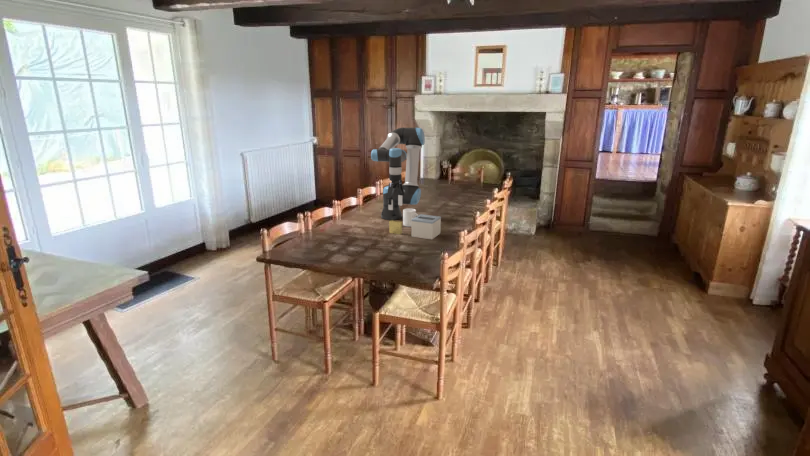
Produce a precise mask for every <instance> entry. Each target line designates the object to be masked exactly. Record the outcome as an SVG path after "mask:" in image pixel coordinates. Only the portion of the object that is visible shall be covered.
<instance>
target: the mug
mask: <svg viewBox="0 0 810 456" xmlns="http://www.w3.org/2000/svg"><path fill="white" fill-rule="evenodd" d="M418 215H419V214H418V213H417V209H415V208H404V209H402V226H403V227H406V228H407V227H408V228H411V227H412V219H413V218H415V217H417V216H418Z"/></svg>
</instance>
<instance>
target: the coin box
mask: <svg viewBox="0 0 810 456" xmlns="http://www.w3.org/2000/svg"><path fill="white" fill-rule="evenodd" d="M441 220H442V216H437V215H429V214H421V213H420V214H418V216H416V217H415V218H413V219H412V227H410V228H411V237H413V238H420V239H427V240H434V239H435V238H436V237H437V236H438V235H439V236H440V234H441V231H442V230H441V226H442V221H441Z"/></svg>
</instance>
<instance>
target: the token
mask: <svg viewBox="0 0 810 456" xmlns="http://www.w3.org/2000/svg"><path fill="white" fill-rule="evenodd" d="M388 227H389V229H388V231H389V234H395V235H402V234H403V220H388Z"/></svg>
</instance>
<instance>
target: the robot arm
mask: <svg viewBox="0 0 810 456" xmlns="http://www.w3.org/2000/svg"><path fill="white" fill-rule="evenodd" d="M425 138H426V137H425V131H424V129H423V128H422V127H398V128H395V129H393V130H392V131H390V132H389V133H388V134H387V136H386V139H385V140H384V142H383V143H382V144H381V145H380V146H379V147H378V149H377V148H376V149H375V148H374V149H372V150H371V153H370V159H371V161H373V162H384V163H385V162H386V163H388V162H389V164H388V165H389V171H388V172H389V177H388V179H389V181H391V182H389V183H388V185H386V186H384V187H383V189H382V205H383V207H382V211H381V213H380V217H381V219H382V220H388V221H390V220H395V221H397V220H400V219H403V212H402V210H401V208H400V207H401V206H403V205H409V206H410V205H412V206H413V205H415V206H416V205H418V203H420V199H421V196H422V189H421V188H420V185H418V184H419V183H418V177H419V176H418V174H419V172H418V171H419V161H420V160H419V159H420V150H421V149H422V148H423V145H425V142H426V141H425V140H426V139H425ZM398 145H405V148H406V151H405V150H404V149H402V148H399V147H396V146H398ZM405 160H406V162H405V163H406V165H405V174H404V175H405V176H404V177H405V178H404V183H403V180H402V171H403V169H402V167H403V166H402V163H403V162H404V161H405Z"/></svg>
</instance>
